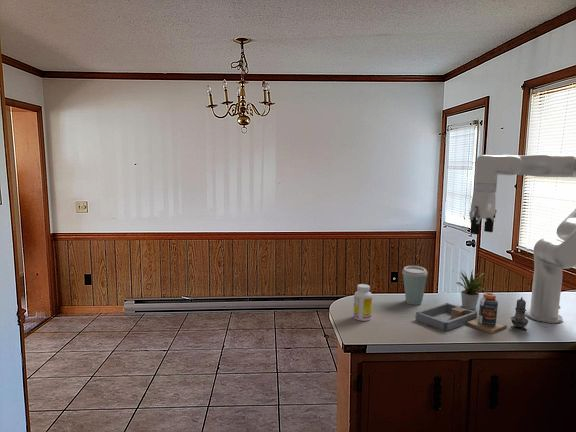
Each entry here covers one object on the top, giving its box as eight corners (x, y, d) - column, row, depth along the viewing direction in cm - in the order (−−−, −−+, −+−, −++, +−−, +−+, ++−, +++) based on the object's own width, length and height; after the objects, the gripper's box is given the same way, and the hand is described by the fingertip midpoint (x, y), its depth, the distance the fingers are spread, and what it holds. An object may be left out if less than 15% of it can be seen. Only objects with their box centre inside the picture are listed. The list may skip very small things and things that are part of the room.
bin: (446, 309, 175) (446, 302, 174) (476, 319, 164) (477, 312, 164) (415, 319, 163) (416, 312, 162) (445, 331, 152) (446, 323, 152)
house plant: (447, 309, 175) (450, 271, 172) (447, 299, 187) (450, 263, 185) (485, 315, 170) (489, 275, 167) (483, 304, 182) (486, 267, 180)
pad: (480, 319, 165) (480, 316, 165) (506, 327, 157) (506, 325, 157) (466, 324, 159) (466, 322, 159) (492, 333, 151) (492, 331, 151)
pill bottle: (480, 325, 156) (483, 295, 154) (476, 319, 161) (479, 290, 160) (497, 327, 155) (500, 297, 153) (493, 321, 160) (496, 292, 159)
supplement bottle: (373, 317, 165) (374, 284, 163) (368, 322, 159) (370, 289, 157) (356, 314, 168) (357, 282, 166) (351, 319, 162) (352, 286, 160)
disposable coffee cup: (429, 306, 178) (431, 271, 176) (403, 306, 178) (405, 271, 176) (421, 298, 188) (424, 265, 186) (397, 298, 188) (399, 264, 186)
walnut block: (456, 316, 168) (457, 306, 167) (466, 319, 164) (466, 309, 164) (450, 318, 165) (451, 308, 165) (460, 321, 162) (460, 311, 162)
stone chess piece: (527, 333, 152) (530, 300, 151) (509, 329, 155) (512, 297, 154) (528, 327, 157) (531, 296, 156) (510, 324, 160) (513, 293, 159)
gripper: (487, 187, 169) (484, 229, 172) (463, 188, 159) (459, 233, 161) (506, 188, 163) (502, 232, 166) (482, 189, 153) (478, 236, 155)
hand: (481, 232), depth 164 cm, fingers open, 9 cm apart
